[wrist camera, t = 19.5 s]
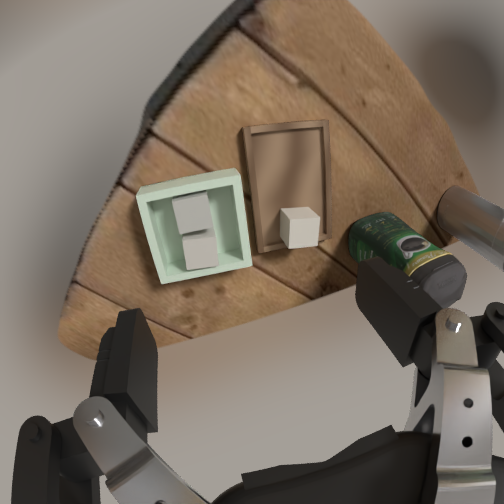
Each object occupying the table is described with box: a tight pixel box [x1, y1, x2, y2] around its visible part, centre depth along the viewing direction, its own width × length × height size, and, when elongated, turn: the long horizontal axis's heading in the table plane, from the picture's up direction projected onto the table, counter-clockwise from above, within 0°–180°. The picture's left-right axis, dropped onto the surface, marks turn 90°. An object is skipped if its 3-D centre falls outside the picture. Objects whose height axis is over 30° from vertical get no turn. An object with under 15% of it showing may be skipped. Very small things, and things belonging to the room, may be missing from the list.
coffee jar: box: [348, 212, 467, 309], centre depth 37 cm, size 10×8×19 cm
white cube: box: [280, 207, 320, 249], centre depth 38 cm, size 4×4×4 cm
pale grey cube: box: [182, 226, 219, 270], centre depth 37 cm, size 4×4×4 cm
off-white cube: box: [172, 190, 213, 234], centre depth 34 cm, size 4×4×4 cm
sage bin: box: [136, 168, 252, 284], centre depth 36 cm, size 12×12×4 cm
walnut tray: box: [242, 120, 332, 253], centre depth 38 cm, size 11×17×1 cm, turn 7°
